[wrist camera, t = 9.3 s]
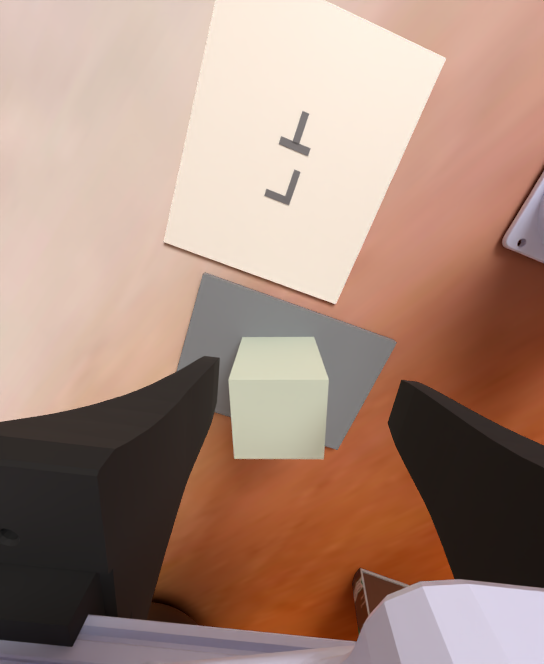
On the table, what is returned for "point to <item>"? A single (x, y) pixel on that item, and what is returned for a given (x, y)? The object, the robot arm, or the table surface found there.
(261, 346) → the sage block
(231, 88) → the card
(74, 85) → the table surface
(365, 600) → the food container
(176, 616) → the bowl of black rocks
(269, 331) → the slate mat
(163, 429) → the robot arm
